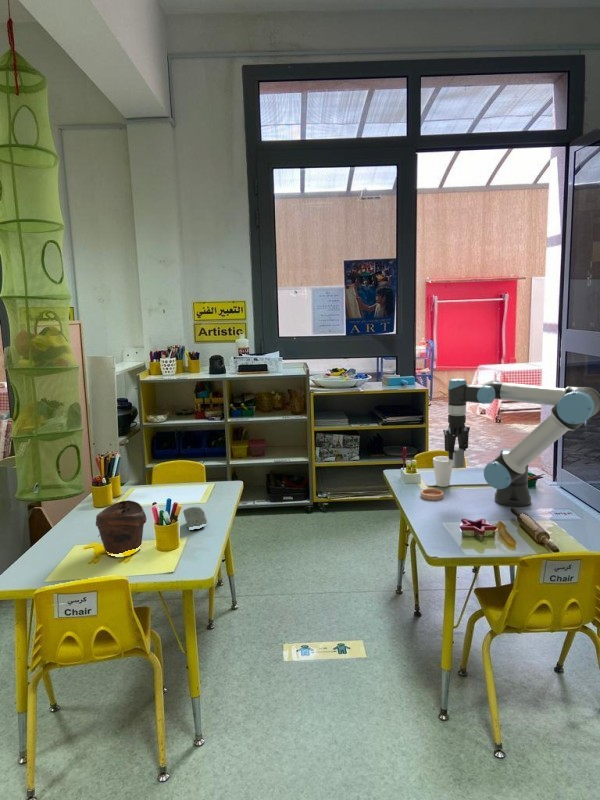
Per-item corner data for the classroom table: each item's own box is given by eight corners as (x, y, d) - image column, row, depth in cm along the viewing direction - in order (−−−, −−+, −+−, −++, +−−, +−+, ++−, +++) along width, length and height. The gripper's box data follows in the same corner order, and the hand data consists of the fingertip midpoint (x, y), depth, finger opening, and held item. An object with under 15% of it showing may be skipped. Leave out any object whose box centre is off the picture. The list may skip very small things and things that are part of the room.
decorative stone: (203, 534, 221) (211, 510, 225) (176, 525, 221) (186, 501, 224) (203, 537, 233) (211, 514, 237) (178, 529, 233) (187, 506, 236)
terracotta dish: (448, 497, 253) (448, 493, 253) (430, 501, 249) (430, 497, 248) (433, 491, 262) (433, 487, 262) (416, 495, 258) (416, 490, 257)
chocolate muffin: (136, 534, 222) (131, 492, 219) (157, 551, 207) (153, 506, 203) (91, 548, 211) (85, 504, 208) (110, 567, 196) (104, 519, 192)
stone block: (463, 466, 247) (463, 449, 245) (456, 468, 245) (456, 450, 243) (455, 464, 251) (455, 447, 250) (448, 465, 249) (449, 448, 248)
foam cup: (429, 482, 274) (429, 457, 272) (445, 480, 277) (446, 455, 274) (439, 488, 265) (439, 462, 263) (456, 486, 268) (457, 460, 266)
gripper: (465, 410, 251) (464, 460, 255) (436, 415, 243) (435, 466, 247) (477, 413, 244) (476, 464, 248) (447, 417, 237) (447, 470, 241)
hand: (456, 465), depth 248 cm, fingers closed on stone block, 4 cm apart
